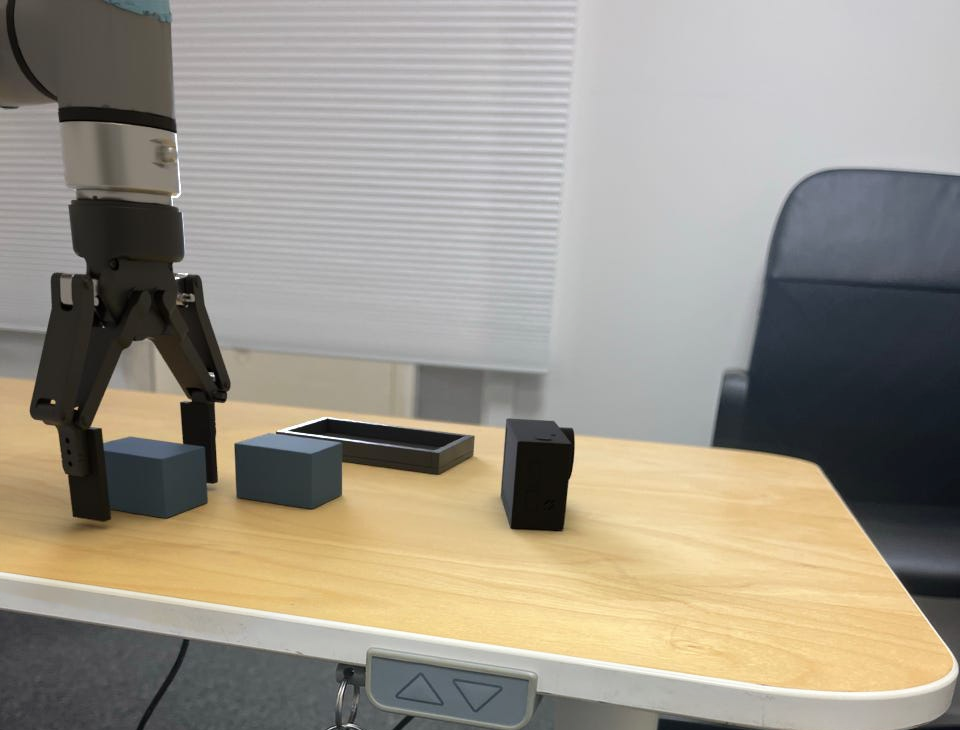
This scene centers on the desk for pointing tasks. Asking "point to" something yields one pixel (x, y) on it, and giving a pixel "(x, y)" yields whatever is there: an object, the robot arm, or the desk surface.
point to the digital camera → (536, 473)
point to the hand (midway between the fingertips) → (151, 498)
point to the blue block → (155, 476)
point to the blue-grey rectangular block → (288, 470)
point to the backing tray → (389, 444)
